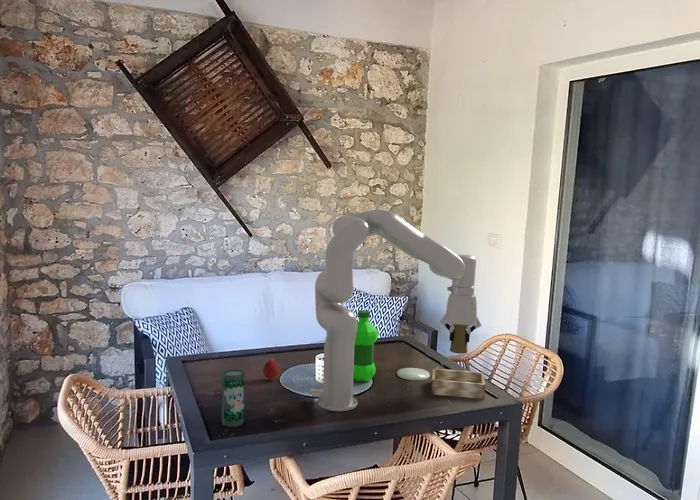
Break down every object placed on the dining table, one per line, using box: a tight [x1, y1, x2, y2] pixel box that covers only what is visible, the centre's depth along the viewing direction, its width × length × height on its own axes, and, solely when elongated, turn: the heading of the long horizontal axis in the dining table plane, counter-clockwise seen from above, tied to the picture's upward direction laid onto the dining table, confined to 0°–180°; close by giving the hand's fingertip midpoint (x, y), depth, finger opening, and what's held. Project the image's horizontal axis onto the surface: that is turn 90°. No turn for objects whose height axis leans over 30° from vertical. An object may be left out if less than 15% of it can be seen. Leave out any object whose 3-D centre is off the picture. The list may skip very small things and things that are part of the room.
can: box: [221, 368, 245, 428], centre depth 168 cm, size 6×6×15 cm
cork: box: [449, 325, 468, 355], centre depth 199 cm, size 6×6×11 cm
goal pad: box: [396, 367, 431, 382], centre depth 216 cm, size 12×12×1 cm
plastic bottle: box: [353, 309, 379, 382], centre depth 207 cm, size 10×10×25 cm
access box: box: [430, 368, 486, 400], centre depth 201 cm, size 18×13×5 cm
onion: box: [262, 358, 281, 381], centre depth 205 cm, size 6×6×8 cm
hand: (459, 343), depth 199 cm, fingers closed on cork, 3 cm apart
